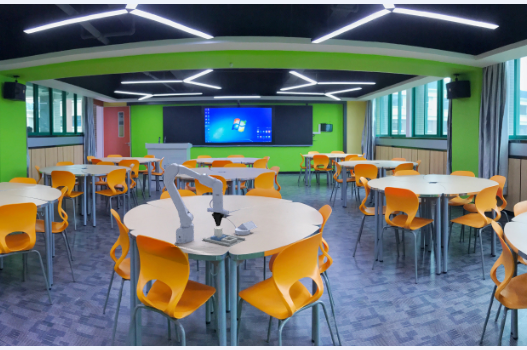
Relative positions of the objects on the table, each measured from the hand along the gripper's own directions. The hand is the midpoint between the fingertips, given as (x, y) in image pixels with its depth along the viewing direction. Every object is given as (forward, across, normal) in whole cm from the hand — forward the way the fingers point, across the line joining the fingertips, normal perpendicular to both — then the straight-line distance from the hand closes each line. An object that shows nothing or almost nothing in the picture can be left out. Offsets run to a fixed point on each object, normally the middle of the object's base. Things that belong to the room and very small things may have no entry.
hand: (218, 225), depth 191 cm
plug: (+7, 0, 0) cm, 7 cm away
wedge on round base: (+9, -4, -19) cm, 21 cm away
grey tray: (+8, -4, 0) cm, 9 cm away
